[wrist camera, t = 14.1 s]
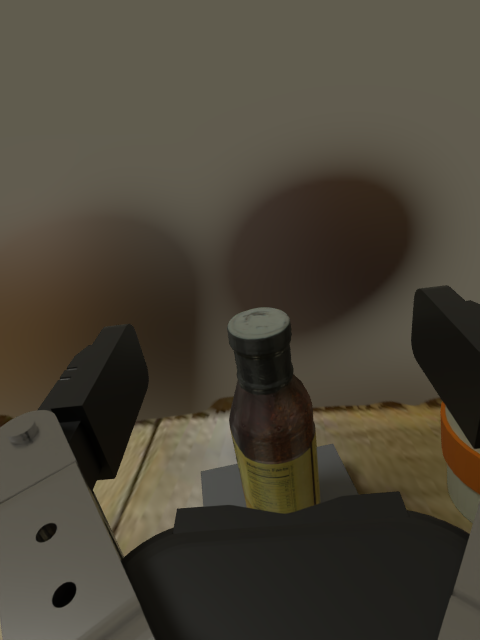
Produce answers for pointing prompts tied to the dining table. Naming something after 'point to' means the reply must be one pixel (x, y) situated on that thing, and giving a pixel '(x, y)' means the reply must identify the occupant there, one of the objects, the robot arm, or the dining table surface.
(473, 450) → the reusable coffee cup
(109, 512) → the dining table surface
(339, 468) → the charcoal base
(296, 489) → the sauce bottle
